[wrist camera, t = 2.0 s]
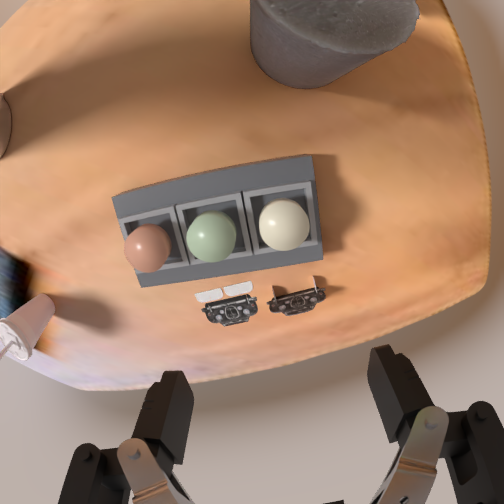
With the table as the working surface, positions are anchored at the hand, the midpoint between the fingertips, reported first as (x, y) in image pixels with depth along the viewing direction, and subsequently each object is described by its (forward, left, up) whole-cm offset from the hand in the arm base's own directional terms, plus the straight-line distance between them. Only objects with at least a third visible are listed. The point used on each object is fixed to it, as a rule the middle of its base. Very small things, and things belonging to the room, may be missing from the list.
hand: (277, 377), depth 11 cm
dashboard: (+8, -2, -20) cm, 21 cm away
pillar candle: (-18, +7, -19) cm, 27 cm away
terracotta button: (-2, -10, -15) cm, 18 cm away
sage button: (-2, -4, -15) cm, 16 cm away
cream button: (-2, +2, -15) cm, 15 cm away
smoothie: (+5, -33, -19) cm, 39 cm away
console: (-2, -4, -19) cm, 19 cm away
